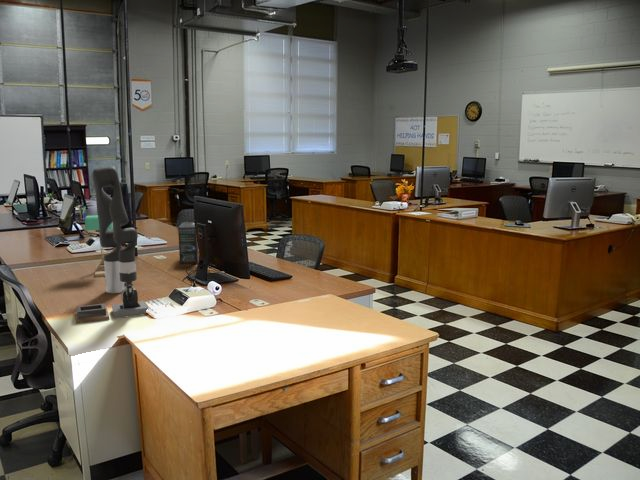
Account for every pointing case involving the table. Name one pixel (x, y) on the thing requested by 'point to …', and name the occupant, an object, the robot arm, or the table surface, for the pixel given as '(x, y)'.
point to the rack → (91, 313)
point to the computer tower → (188, 243)
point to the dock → (129, 310)
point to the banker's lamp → (93, 224)
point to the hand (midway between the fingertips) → (130, 305)
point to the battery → (125, 301)
